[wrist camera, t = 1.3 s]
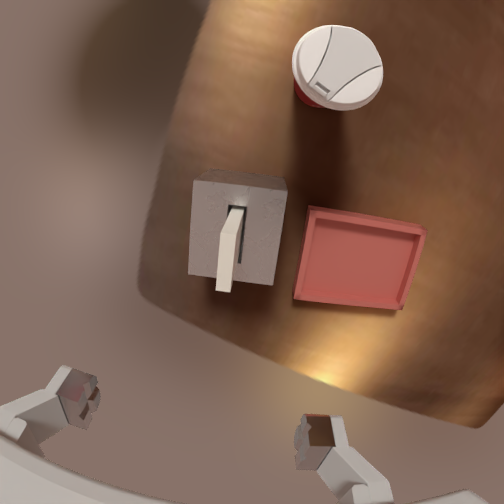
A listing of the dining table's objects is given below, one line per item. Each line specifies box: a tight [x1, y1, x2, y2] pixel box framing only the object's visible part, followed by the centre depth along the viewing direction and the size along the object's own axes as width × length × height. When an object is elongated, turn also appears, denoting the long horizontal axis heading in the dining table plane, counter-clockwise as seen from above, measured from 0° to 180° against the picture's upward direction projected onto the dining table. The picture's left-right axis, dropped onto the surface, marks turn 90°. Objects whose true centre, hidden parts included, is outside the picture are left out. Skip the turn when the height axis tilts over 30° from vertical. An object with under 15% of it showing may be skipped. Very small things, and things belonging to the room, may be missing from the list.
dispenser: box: [188, 168, 288, 285], centre depth 36 cm, size 9×10×9 cm
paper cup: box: [292, 25, 383, 110], centre depth 27 cm, size 8×8×14 cm
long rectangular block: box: [216, 205, 246, 292], centre depth 31 cm, size 1×5×12 cm, turn 173°
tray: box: [292, 205, 428, 310], centre depth 40 cm, size 16×12×2 cm
